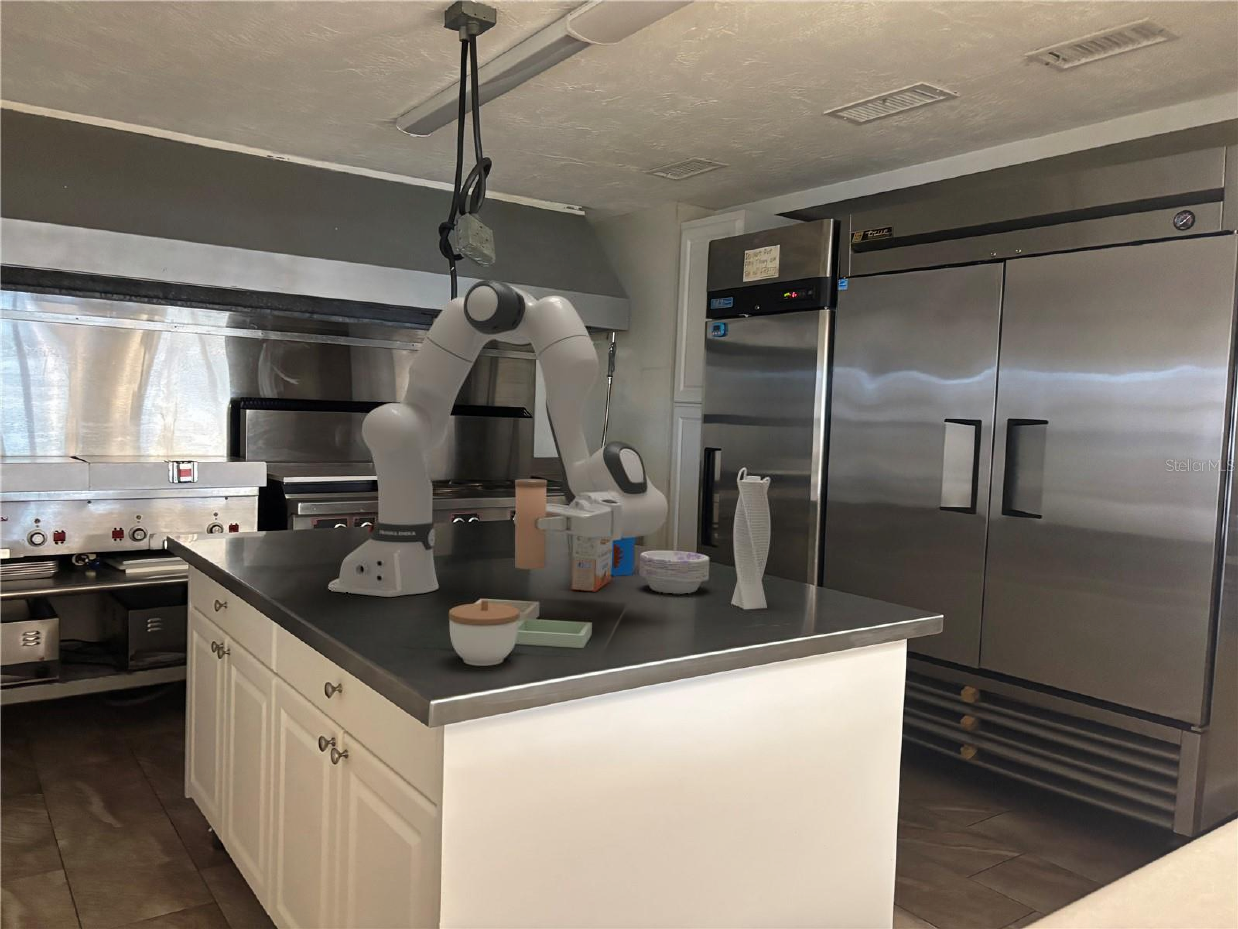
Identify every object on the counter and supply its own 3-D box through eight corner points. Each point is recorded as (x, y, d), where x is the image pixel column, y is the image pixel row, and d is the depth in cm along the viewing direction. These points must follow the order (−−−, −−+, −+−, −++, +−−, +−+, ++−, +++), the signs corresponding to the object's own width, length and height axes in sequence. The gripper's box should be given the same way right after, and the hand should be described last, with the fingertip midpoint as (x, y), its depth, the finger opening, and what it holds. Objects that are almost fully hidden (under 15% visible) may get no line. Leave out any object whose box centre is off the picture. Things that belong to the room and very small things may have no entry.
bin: (400, 626, 159) (401, 606, 158) (420, 614, 168) (420, 595, 168) (526, 634, 156) (527, 614, 156) (538, 620, 166) (539, 602, 166)
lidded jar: (440, 654, 142) (441, 595, 141) (506, 648, 146) (507, 591, 146) (458, 673, 132) (459, 609, 131) (528, 666, 136) (529, 605, 136)
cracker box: (597, 593, 193) (600, 495, 192) (570, 590, 194) (572, 493, 193) (613, 581, 206) (615, 490, 205) (587, 579, 208) (590, 488, 207)
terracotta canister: (511, 568, 153) (511, 481, 152) (518, 563, 158) (519, 478, 157) (542, 569, 152) (543, 481, 151) (549, 564, 158) (549, 479, 157)
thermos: (607, 566, 226) (610, 466, 224) (642, 572, 219) (646, 469, 218) (580, 572, 217) (583, 468, 215) (616, 578, 210) (619, 470, 209)
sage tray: (509, 649, 145) (509, 631, 145) (521, 636, 154) (522, 618, 154) (582, 654, 144) (583, 635, 144) (591, 640, 153) (591, 622, 153)
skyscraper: (722, 602, 187) (727, 467, 185) (754, 600, 190) (759, 467, 188) (742, 610, 179) (747, 469, 178) (774, 608, 182) (780, 470, 181)
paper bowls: (712, 586, 204) (713, 551, 203) (703, 599, 189) (704, 562, 189) (646, 581, 207) (647, 547, 207) (632, 594, 193) (633, 557, 192)
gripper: (558, 494, 171) (495, 498, 162) (627, 504, 155) (560, 509, 146) (558, 527, 171) (495, 533, 162) (626, 541, 155) (560, 548, 146)
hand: (526, 522), depth 154 cm, fingers closed on terracotta canister, 5 cm apart
